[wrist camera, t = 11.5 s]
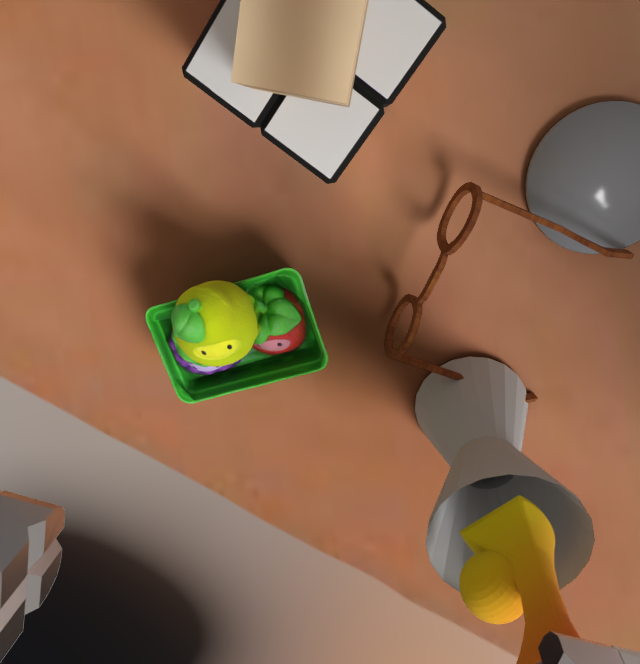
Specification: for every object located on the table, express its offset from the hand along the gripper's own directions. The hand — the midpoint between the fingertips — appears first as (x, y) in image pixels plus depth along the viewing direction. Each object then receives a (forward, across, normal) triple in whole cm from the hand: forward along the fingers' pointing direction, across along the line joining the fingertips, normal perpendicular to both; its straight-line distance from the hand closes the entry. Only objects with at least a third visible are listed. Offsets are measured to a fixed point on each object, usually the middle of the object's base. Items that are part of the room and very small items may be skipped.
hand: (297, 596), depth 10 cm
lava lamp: (+35, -12, +11) cm, 39 cm away
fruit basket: (+35, +7, +8) cm, 37 cm away
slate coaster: (+36, -15, -7) cm, 39 cm away
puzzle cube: (+36, +5, -10) cm, 37 cm away
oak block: (+25, +5, -10) cm, 28 cm away
